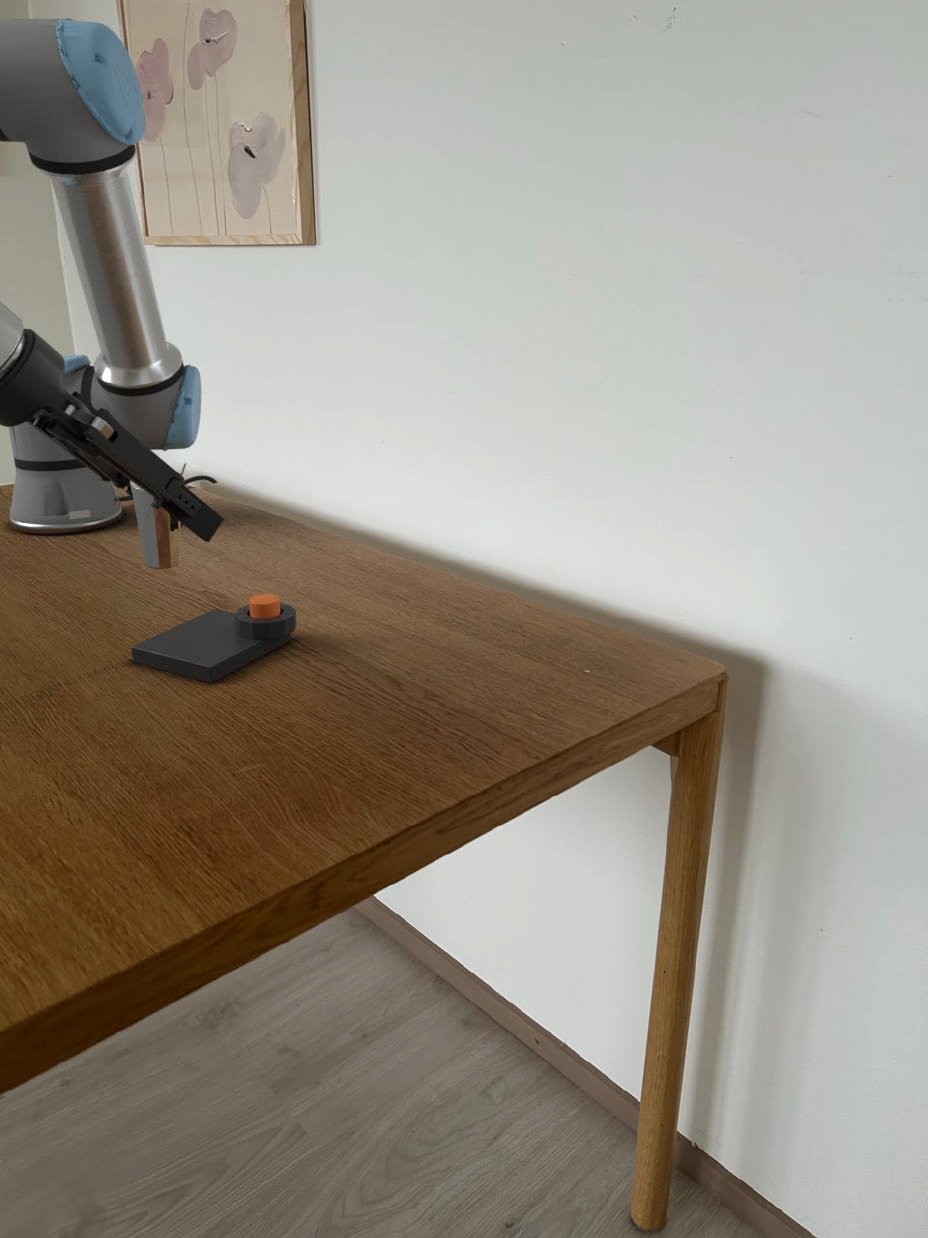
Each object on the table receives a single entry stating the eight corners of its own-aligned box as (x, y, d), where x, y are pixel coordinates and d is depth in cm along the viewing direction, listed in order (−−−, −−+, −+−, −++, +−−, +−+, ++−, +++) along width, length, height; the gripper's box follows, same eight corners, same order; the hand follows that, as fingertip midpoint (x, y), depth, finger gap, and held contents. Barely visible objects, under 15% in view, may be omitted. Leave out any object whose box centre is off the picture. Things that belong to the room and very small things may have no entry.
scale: (222, 620, 103) (220, 589, 102) (308, 639, 98) (306, 608, 97) (132, 662, 93) (128, 629, 92) (223, 686, 88) (220, 651, 87)
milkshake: (181, 575, 88) (173, 468, 84) (128, 568, 89) (118, 462, 85) (203, 559, 92) (197, 457, 88) (152, 554, 93) (143, 452, 89)
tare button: (263, 608, 98) (262, 592, 97) (286, 613, 97) (285, 597, 96) (244, 617, 96) (242, 601, 95) (267, 622, 94) (266, 606, 94)
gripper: (-76, 387, 80) (131, 538, 97) (12, 411, 68) (229, 577, 85) (-21, 317, 81) (173, 478, 98) (73, 329, 70) (274, 509, 87)
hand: (198, 524), depth 92 cm, fingers closed on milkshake, 5 cm apart
